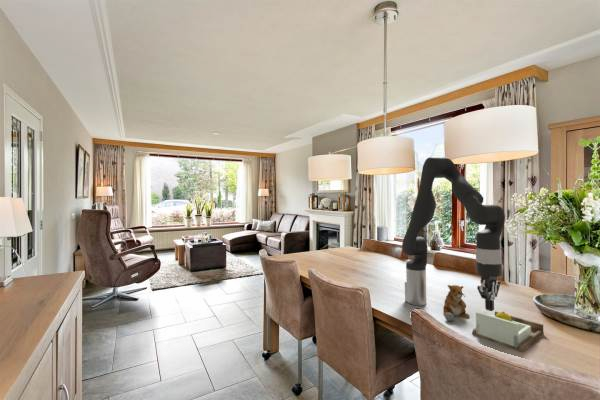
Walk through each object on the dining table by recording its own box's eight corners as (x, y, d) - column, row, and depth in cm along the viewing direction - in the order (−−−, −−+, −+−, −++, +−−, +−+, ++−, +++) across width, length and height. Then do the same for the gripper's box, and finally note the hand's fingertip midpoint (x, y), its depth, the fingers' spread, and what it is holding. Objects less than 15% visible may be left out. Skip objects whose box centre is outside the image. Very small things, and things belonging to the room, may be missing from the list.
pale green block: (476, 333, 107) (475, 312, 107) (491, 324, 114) (491, 304, 114) (517, 347, 96) (516, 324, 96) (531, 336, 103) (530, 315, 103)
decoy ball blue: (476, 319, 120) (476, 311, 120) (480, 317, 122) (480, 309, 122) (485, 322, 117) (485, 314, 117) (489, 320, 119) (489, 312, 119)
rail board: (472, 333, 108) (471, 324, 108) (495, 320, 120) (495, 311, 120) (522, 352, 95) (522, 340, 95) (543, 334, 106) (543, 324, 106)
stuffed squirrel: (445, 317, 123) (445, 287, 123) (439, 306, 137) (438, 279, 137) (471, 320, 120) (470, 289, 120) (461, 307, 134) (461, 280, 134)
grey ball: (443, 320, 120) (443, 312, 120) (447, 318, 122) (447, 310, 122) (451, 323, 117) (451, 315, 117) (456, 321, 119) (455, 313, 119)
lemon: (516, 336, 102) (516, 314, 102) (502, 336, 102) (501, 314, 102) (505, 329, 108) (504, 308, 108) (491, 329, 108) (490, 309, 108)
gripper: (485, 257, 106) (486, 303, 106) (468, 261, 98) (469, 311, 98) (508, 260, 99) (509, 309, 99) (492, 265, 92) (493, 318, 92)
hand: (489, 310), depth 99 cm, fingers closed
